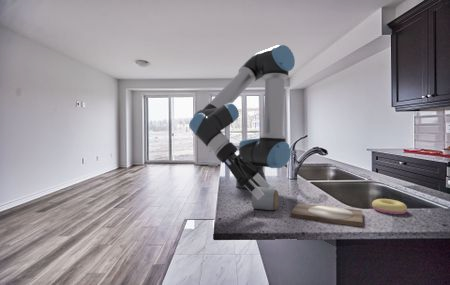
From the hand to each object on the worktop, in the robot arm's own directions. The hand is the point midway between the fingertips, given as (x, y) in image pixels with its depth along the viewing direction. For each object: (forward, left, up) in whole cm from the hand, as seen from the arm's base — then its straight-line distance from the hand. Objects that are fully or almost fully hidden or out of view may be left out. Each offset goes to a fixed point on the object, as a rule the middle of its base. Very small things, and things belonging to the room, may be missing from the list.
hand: (264, 192), depth 88 cm
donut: (-16, +38, -6) cm, 41 cm away
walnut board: (-2, +20, -6) cm, 21 cm away
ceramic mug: (-2, 0, -6) cm, 6 cm away
